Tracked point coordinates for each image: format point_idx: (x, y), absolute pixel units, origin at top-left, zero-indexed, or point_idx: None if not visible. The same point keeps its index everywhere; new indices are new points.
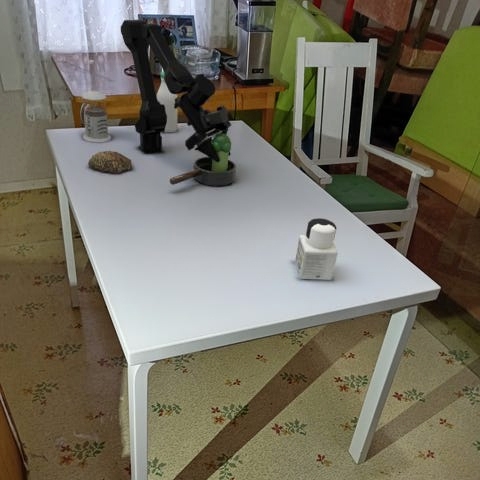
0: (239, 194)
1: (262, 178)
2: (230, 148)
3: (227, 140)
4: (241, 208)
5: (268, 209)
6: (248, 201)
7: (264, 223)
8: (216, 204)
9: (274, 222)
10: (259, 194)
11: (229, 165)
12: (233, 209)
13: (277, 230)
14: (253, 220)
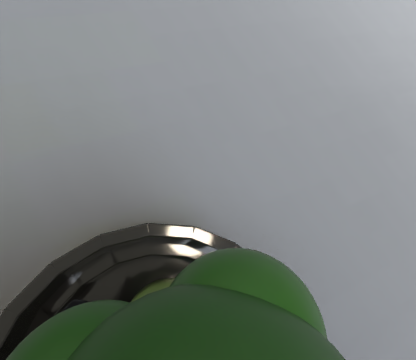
0: (264, 168)
1: (25, 124)
2: (240, 248)
3: (291, 337)
4: (362, 127)
5: (310, 50)
6: (299, 120)
7: (396, 46)
8: (397, 217)
9: (372, 24)
10: (216, 98)
11: (30, 316)
12: (387, 149)
13: (404, 13)
14: (403, 76)
